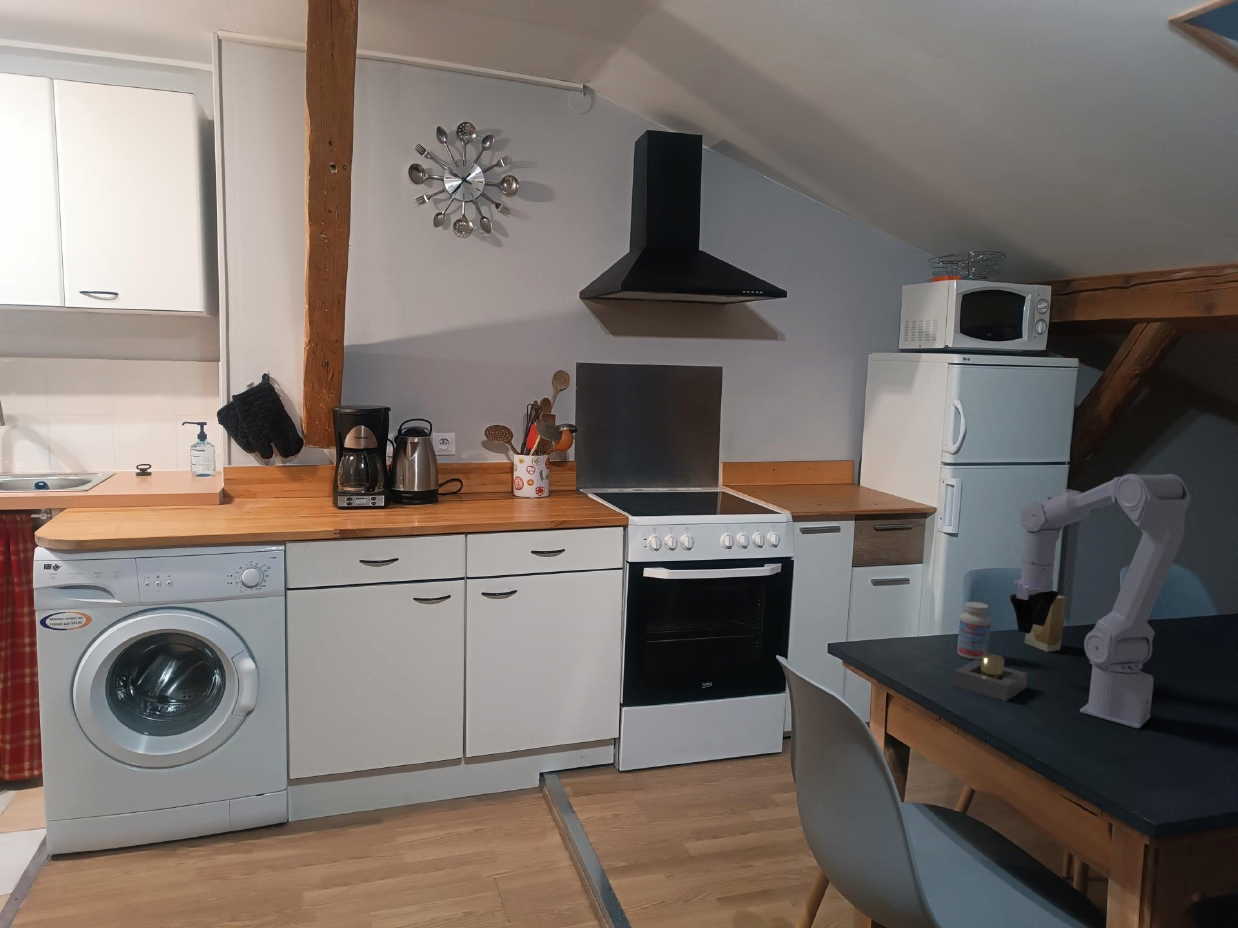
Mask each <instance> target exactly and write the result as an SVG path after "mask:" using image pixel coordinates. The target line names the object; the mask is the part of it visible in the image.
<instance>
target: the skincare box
mask: <svg viewBox="0 0 1238 928" xmlns="http://www.w3.org/2000/svg"><path fill="white" fill-rule="evenodd" d="M1067 599H1068V597H1066V596H1063V595H1060V594H1059V595H1058V597H1057V598H1056V599H1055V601H1054V602H1053V604H1052V606H1051V608H1050V611H1049V613H1048V616H1047V619H1046V622H1045V624H1044V626H1039V625H1035V624H1033V627H1032V630H1031V632H1030V633H1029V634H1028V633H1025V637H1024V638H1025V639H1024V644H1026V645H1028V646H1031V647H1034V648H1036V649H1038V650H1041V651H1045V652H1046V653H1048V652H1057V651H1061V646H1062V637H1063V631H1064V630H1063V629H1064V623H1065V615H1066V609H1067V608H1066V607H1067V601H1068V600H1067Z"/></svg>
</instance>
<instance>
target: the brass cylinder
mask: <svg viewBox="0 0 1238 928" xmlns="http://www.w3.org/2000/svg"><path fill="white" fill-rule="evenodd" d="M980 661H981V669H980V674H981V675H984V676H988V677H991V678H995V679H999V680H1002V679H1003V669H1004V667H1005V658H1004V657H1003V656H1001V655H998V654H992V653H987V654H983V655H982V659H981V660H980Z"/></svg>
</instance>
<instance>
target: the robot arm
mask: <svg viewBox="0 0 1238 928" xmlns="http://www.w3.org/2000/svg"><path fill="white" fill-rule="evenodd" d="M1191 498H1192V496H1191V494H1190V491H1189V489H1188V488H1187V485H1186V483H1185V482H1184V480H1183V479H1182V478H1181V477H1180V476H1179V475H1176V474H1173V473H1167V474H1136V473H1128V474H1124V475H1123V476H1117V477H1114V478H1113V479H1112V480H1110V481H1107V482H1105V483H1102V484H1100V485H1098V486H1096V487H1094V488H1091V489H1089V490H1087V491H1085V492H1081V491H1079V490H1073V489H1072V488H1071V489H1069V488H1068V489H1067V488H1066V489H1064V490H1061V494H1059V495H1056V496H1053V497H1052V496H1047V497H1045V498H1044V500H1043V501H1042V502H1034V501H1029V502H1028V503H1026V504H1024V506H1023V507H1022V508H1021V510H1020V512H1019V521H1020V524H1021V526H1022V527H1023V529H1024V530H1025V532H1024V539H1023V540H1024V541H1023V550H1022V562H1021V572H1020V578H1019V579H1014V581H1013V584H1014V585H1018V588H1016V594H1015V593H1013V594H1011V595H1010V596H1009V599H1010V602H1011V604H1012V607H1013V609H1014V613H1015V618H1016V623H1017V629H1018V630H1017V631H1018V632H1021V633H1024V634H1026V633H1028V634H1029V633H1030V632H1031V630H1032V627H1033V624H1035V625H1039V626H1044V624H1045V622H1046V619H1047V616H1048V613H1049V611H1050V608H1051V606H1052V604H1053V602H1054V601H1055V599H1056V598H1057V597H1058V595H1060V594H1059V593H1060V592H1059V591H1055V590H1053V587H1054V579H1053V577H1054V576H1053V575H1054V566H1055V558H1056V549H1057V548H1056V547H1057V541H1058V540H1059V539H1060V536H1061V535H1060V534H1061V531H1062V530H1063V529H1064V528H1065V526H1067V525H1071V524H1073V523H1077V522H1080V521H1082V520H1085V519H1087V518H1088V517H1089V515H1090V514H1091V511H1092V510H1094V509H1098V508H1102V507H1105V506H1108V505H1112V504H1118V505H1119V506H1120V508H1121V509H1122V510H1123V512H1125V514H1126V515H1127V516H1128V517H1129V519H1130V520H1131V521H1132V522H1133V523H1134V525H1135V526H1136V527H1137V528H1138V529H1140V531H1141V533H1142V536H1141V539H1140V541H1139V543H1138V546H1137V548H1136V551H1135V552H1134V553H1135V554H1134V556H1133V558H1132V561H1131V563H1130V564H1129V565H1130V566H1129V568H1128V570H1127V573H1126V576H1125V578H1124V580H1123V582H1122V585H1121V588H1120V589H1119V592H1118V595H1117V598H1116V600H1115V603H1114V605H1113V607H1112V609H1111V611H1110V612H1109V613H1107V614H1106V615H1104V616H1103V617H1101V618H1100V619H1098V620H1097V621H1096V623H1095V626H1094V627H1093V629H1092V630H1090V631H1089V632H1088V633H1087V634H1086V635H1085V639H1084V641H1083V643H1084V652H1085V654H1086V657H1087V658H1088V660H1089V663H1090V664H1091V665H1092V669H1091V674H1090V675H1091V678H1090V684H1089V686H1090V687H1089V696H1088V702H1087V703H1086V704H1085V705H1084V706H1083V707H1081V708H1080V709H1079V712H1080V713H1082V714H1086V715H1090V716H1092V717H1097V718H1099V719H1103V720H1106V721H1110V722H1114V723H1118V724H1120V725H1125V726H1128V727H1131V728H1135V729H1140V728H1141V727H1142V726H1143V725H1144V724H1146V722H1147V721H1148V720H1149V719H1150V718H1151V708H1152V700H1153V699H1152V698H1153V691H1154V677H1153V675H1152V674H1148V673H1145V672H1143V671H1142V669H1143V665H1144V663H1146V662H1147V661H1149V660H1150V659H1151V656H1152V653H1153V639H1154V637H1155V635H1156V633H1155V631H1154V629H1153V628H1152V626H1151V625H1150V624H1149V623H1148V620H1149V619H1150V616H1151V614H1152V611H1153V609H1154V607H1155V605H1156V602H1157V600H1158V597H1159V595H1160V593H1161V590H1162V588H1163V585H1164V583H1165V580H1166V578H1167V576H1168V574H1169V571H1170V569H1171V566H1172V564H1173V563H1174V560H1175V557H1176V555H1177V553H1178V550H1179V549H1180V545H1181V543H1182V541H1183V539H1184V534H1185V517H1186V516H1185V514H1186V511H1187V509H1188V506H1189V503H1190V500H1191Z"/></svg>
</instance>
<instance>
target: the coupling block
mask: <svg viewBox="0 0 1238 928" xmlns="http://www.w3.org/2000/svg"><path fill="white" fill-rule="evenodd" d="M980 669H981V660H974V659H973V660H972V661H970V662H968V663H966V664H964V665H962V666H961V667H959V668H956V669H954V671H953V682H952V686H953V687H956V688H959V689H964V690H965V691H970V692H973V693H977V694H979V695H983V696H986V697H991V698H993V699H997V700H1000V699H1001V700H1000V701H1004V702H1008V701H1009V700H1010V699H1012V698H1013V697H1015V696H1017V695H1018V694H1020V693H1021V692H1023V691H1024V690H1026V688H1027V680H1028V673H1027V672H1024V671H1020V670H1015V669H1013V668H1008V667H1005V666H1004V669H1003V679H1002V680H999V679H995V678H991V677H988V676H984V675H981V674H980ZM1008 699H1009V700H1008Z"/></svg>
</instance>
